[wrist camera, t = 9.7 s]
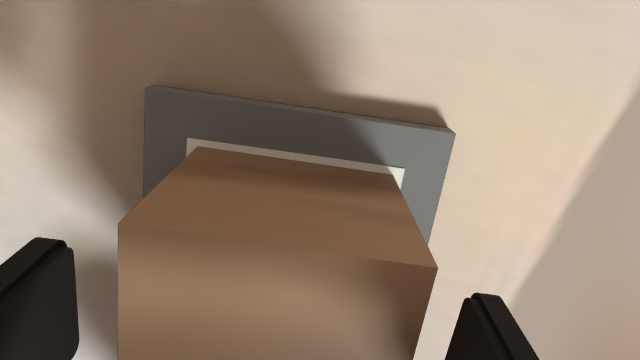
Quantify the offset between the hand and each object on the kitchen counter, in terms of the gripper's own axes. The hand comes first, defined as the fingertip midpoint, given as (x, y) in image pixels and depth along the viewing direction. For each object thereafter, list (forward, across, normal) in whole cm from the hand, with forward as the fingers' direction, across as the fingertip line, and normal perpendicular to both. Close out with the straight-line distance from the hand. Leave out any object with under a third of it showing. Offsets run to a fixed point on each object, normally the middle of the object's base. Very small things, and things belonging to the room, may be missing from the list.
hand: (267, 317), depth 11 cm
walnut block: (+5, 0, +1) cm, 5 cm away
